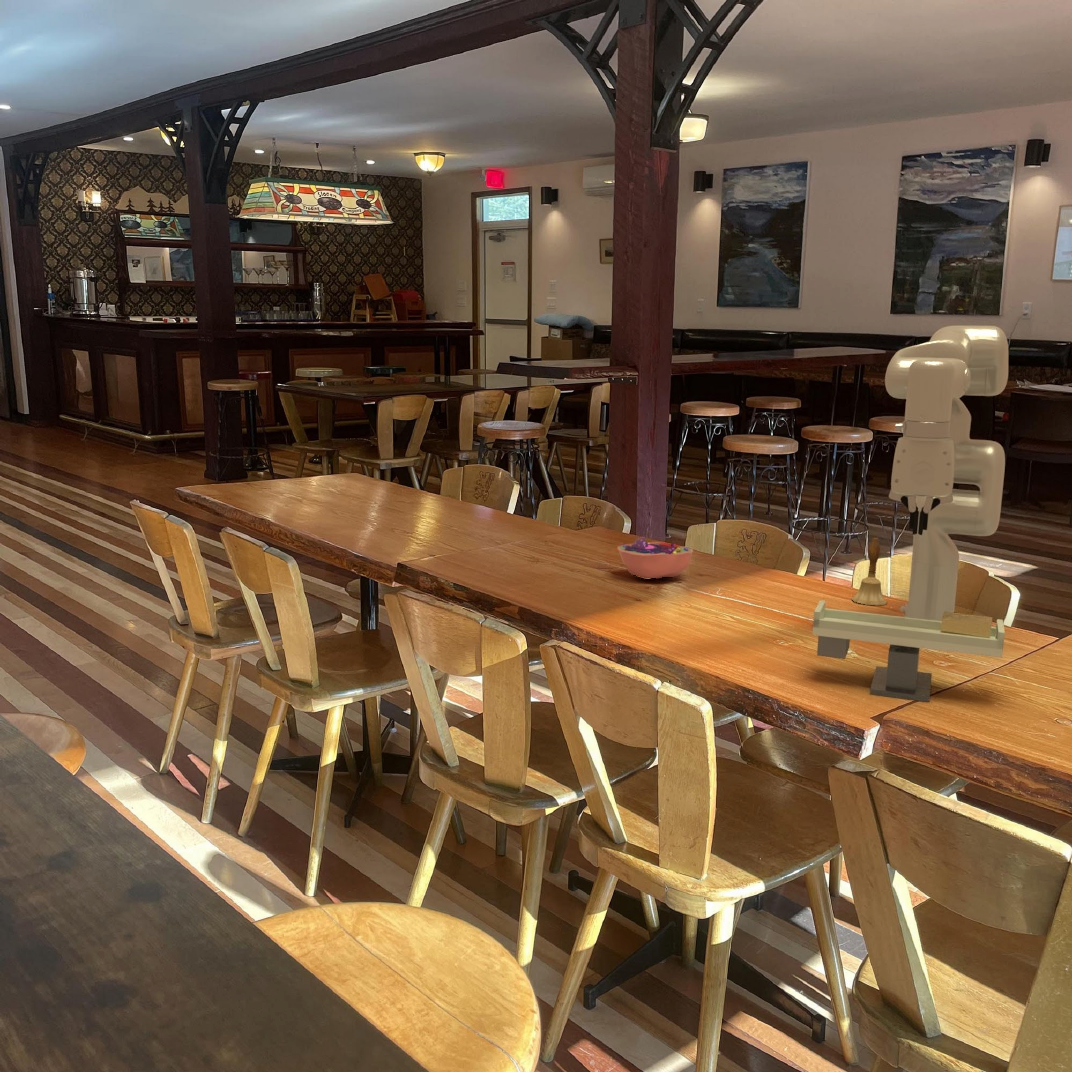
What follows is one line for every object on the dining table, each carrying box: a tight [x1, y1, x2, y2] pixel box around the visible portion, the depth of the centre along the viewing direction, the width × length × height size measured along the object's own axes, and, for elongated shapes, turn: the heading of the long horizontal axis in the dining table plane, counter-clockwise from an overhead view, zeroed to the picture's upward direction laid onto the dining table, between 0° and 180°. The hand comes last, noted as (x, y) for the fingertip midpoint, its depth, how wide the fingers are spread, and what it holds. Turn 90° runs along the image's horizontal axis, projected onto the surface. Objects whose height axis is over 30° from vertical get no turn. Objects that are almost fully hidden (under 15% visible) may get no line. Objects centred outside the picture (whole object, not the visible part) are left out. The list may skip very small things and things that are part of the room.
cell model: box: [616, 536, 694, 579], centre depth 266 cm, size 17×20×11 cm
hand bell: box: [851, 537, 888, 607], centre depth 245 cm, size 8×8×16 cm
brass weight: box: [941, 611, 993, 638], centre depth 179 cm, size 8×5×4 cm, turn 64°
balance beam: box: [812, 599, 1006, 660], centre depth 184 cm, size 32×9×8 cm, turn 67°
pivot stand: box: [869, 644, 933, 703], centre depth 185 cm, size 10×14×8 cm
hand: (917, 533), depth 180 cm, fingers closed
